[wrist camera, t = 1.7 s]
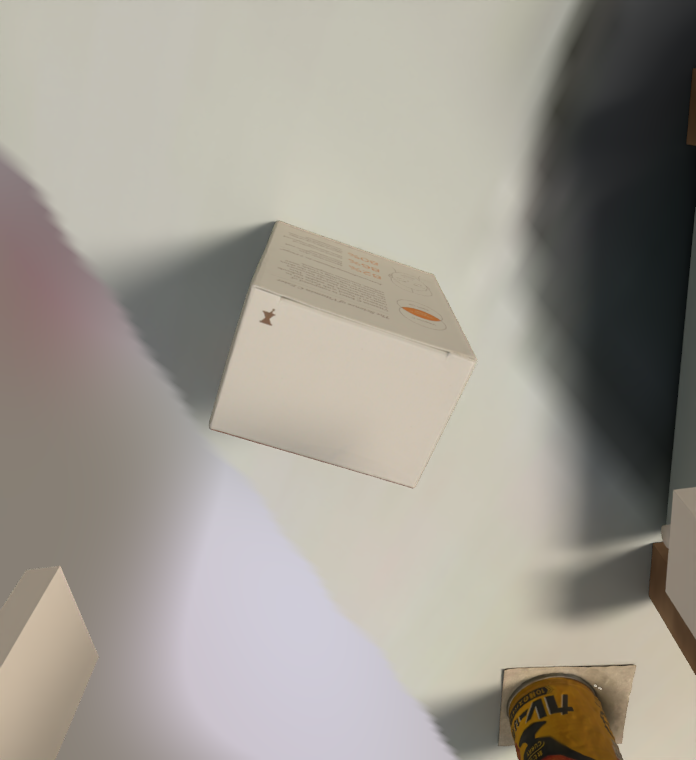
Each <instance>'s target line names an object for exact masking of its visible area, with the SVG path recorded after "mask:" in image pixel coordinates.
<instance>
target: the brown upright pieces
mask: <svg viewBox="0 0 696 760" xmlns="http://www.w3.org/2000/svg"><path fill="white" fill-rule="evenodd" d="M686 144H689V145H694V146H696V68H693V72H692V84H691V96H690V108H689V119H688V131H687V143H686ZM668 552H669V549H668V548H667V547H666V546H665V544H664V542H660V543H653V549H652V561H651V573H650V585H649V597H650V599H651V600H652V602H653V604H654V606H655V607H656V609H657V611H658V612H659V614H660V616H661V617H662V619H663V621H664V622H665V624H666V626H667V628H668V629H669V631H670V633H671V634H672V636H673V638H674V639H675V641H676V643H677V644H678V646H679V648H680V649H681V651H682V653H683V655H684V656H685V658H686V660H687V661H688V663H689V665H690V666H691V668H692V670H693V671H694V673H695V675H696V639H695V637H694V636H693V634H692V633H691V631H690V629H689V628H688V626H687V625H686V623H685V622H684V620H683V618H682V617H681V615H680V614H679V612H678V611H677V609H676V607H675V606H674V604H673V603H672V601H671V600H670V598H669V596H668V595H667V593H666V592H665V590H666V577H667V565H668Z"/></svg>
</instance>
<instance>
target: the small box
mask: <svg viewBox="0 0 696 760" xmlns="http://www.w3.org/2000/svg"><path fill="white" fill-rule="evenodd" d="M476 364H477V358H476V356H475V354H474V352H473V350H472V348H471V346H470V344H469V342H468V340H467V338H466V336H465V334H464V332H463V331H462V329H461V326H460V325H459V322H458V321H457V319H456V317H455V315H454V313H453V311H452V309H451V307H450V305H449V303H448V301H447V299H446V297H445V295H444V293H443V292H442V290H441V288H440V286H439V284H438V282H437V280H436V278H435V276H434V275H433V274H430V273H427V272H424V271H421V270H418V269H415V268H412V267H409V266H407V265H404V264H401V263H398V262H395V261H392V260H389V259H386V258H384V257H381V256H378V255H375V254H372V253H369V252H366V251H363V250H360V249H358V248H355V247H352V246H349V245H346V244H344V243H341V242H338V241H335V240H332V239H329V238H326V237H323V236H320V235H317V234H315V233H312V232H309V231H306V230H303V229H301V228H298V227H295V226H292V225H289V224H287V223H284V222H282V221H276V223H275V224H274V227H273V230H272V232H271V235H270V238H269V240H268V243H267V245H266V248H265V250H264V252H263V255H262V257H261V259H260V261H259V263H258V266H257V268H256V271H255V273H254V276H253V278H252V280H251V283H250V286H249V289H248V292H247V295H246V298H245V302H244V305H243V308H242V311H241V314H240V318H239V321H238V324H237V327H236V330H235V334H234V337H233V340H232V344H231V347H230V351H229V354H228V357H227V361H226V364H225V368H224V371H223V375H222V378H221V382H220V386H219V389H218V393H217V396H216V400H215V404H214V407H213V411H212V414H211V417H210V422H209V428H210V429H211V430H215V431H218V432H222V433H225V434H229V435H232V436H235V437H239V438H242V439H246V440H249V441H252V442H256V443H259V444H263V445H266V446H270V447H273V448H277V449H280V450H284V451H287V452H291V453H294V454H298V455H301V456H305V457H308V458H311V459H315V460H318V461H321V462H325V463H328V464H332V465H335V466H339V467H342V468H346V469H349V470H352V471H356V472H359V473H363V474H366V475H370V476H373V477H376V478H380V479H383V480H386V481H390V482H393V483H397V484H400V485H403V486H407V487H410V488H415V487H416V485H417V483H418V481H419V479H420V477H421V475H422V473H423V471H424V469H425V467H426V465H427V463H428V461H429V459H430V457H431V455H432V453H433V451H434V449H435V447H436V445H437V443H438V441H439V439H440V437H441V435H442V433H443V431H444V429H445V427H446V425H447V423H448V421H449V418H450V416H451V414H452V412H453V410H454V408H455V406H456V404H457V402H458V400H459V398H460V396H461V394H462V392H463V390H464V388H465V386H466V384H467V382H468V380H469V378H470V376H471V374H472V372H473V370H474V368H475V366H476Z"/></svg>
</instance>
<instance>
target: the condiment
mask: <svg viewBox="0 0 696 760" xmlns="http://www.w3.org/2000/svg"><path fill="white" fill-rule="evenodd" d="M635 669H636V665H628V666H609V667H543V668H537V667H535V668H515V669H508V670H504V680H503V690H502V700H501V713H500V728H499V730H500V732H499V743H498V746H510V745H515V747H516V752H517V757H518V759H519V760H623V758H622V755H621V753H620V751H619V748H618V745H617V744H621V743H622V738H623V730H624V724H625V718H626V711H627V707H628V702H629V695H630V693H631V688H632V681H633V677H634V674H635ZM594 684H596V685H597V687H594ZM598 687H601V688H602V690H600V689H598Z"/></svg>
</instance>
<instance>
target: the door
mask: <svg viewBox="0 0 696 760" xmlns="http://www.w3.org/2000/svg"><path fill="white" fill-rule="evenodd" d="M693 487H696V209H695V219H694V230H693V241H692V252H691V262H690V273H689V284H688V295H687V305H686V316H685V327H684V338H683V348H682V359H681V370H680V381H679V391H678V402H677V413H676V423H675V434H674V445H673V456H672V466H671V477H670V488H669V499H668V509H667V520H666V525H663V526H662V528H661V535H662V539H663V542H664V544H665V546H666V547H667V548H668V549H669V539H670V527H671V514H672V501H673V490H676V489H684V488H693Z"/></svg>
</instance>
